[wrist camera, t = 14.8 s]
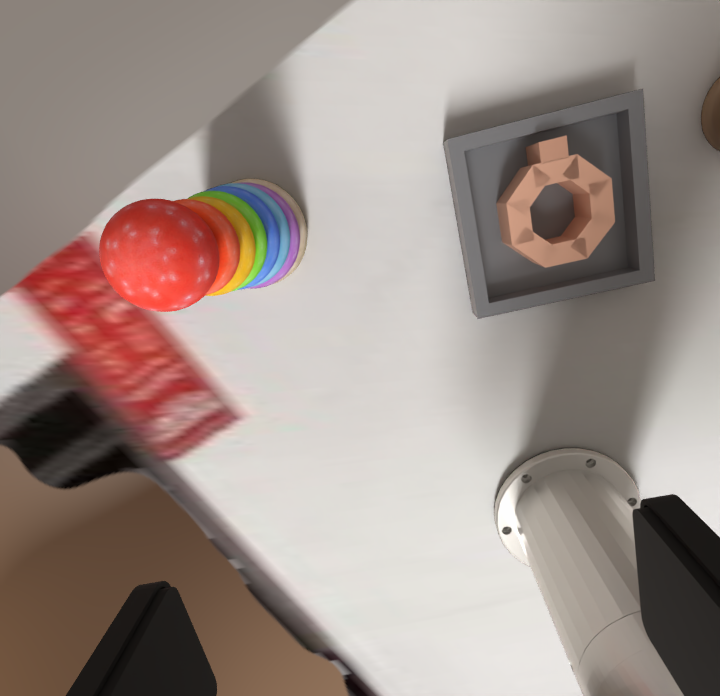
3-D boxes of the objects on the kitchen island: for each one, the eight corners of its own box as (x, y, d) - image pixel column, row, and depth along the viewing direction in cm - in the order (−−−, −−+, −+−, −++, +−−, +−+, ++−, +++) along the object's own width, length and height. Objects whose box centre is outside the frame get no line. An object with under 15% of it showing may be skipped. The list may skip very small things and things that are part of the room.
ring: (588, 131, 34) (607, 125, 31) (598, 247, 36) (617, 251, 33) (489, 156, 35) (499, 152, 32) (505, 268, 37) (516, 274, 34)
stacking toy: (269, 157, 36) (157, 115, 18) (328, 248, 38) (281, 293, 20) (187, 216, 37) (9, 232, 19) (248, 301, 39) (137, 387, 21)
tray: (626, 95, 34) (642, 88, 31) (639, 275, 37) (654, 280, 35) (443, 143, 35) (447, 139, 33) (472, 312, 39) (478, 318, 36)
